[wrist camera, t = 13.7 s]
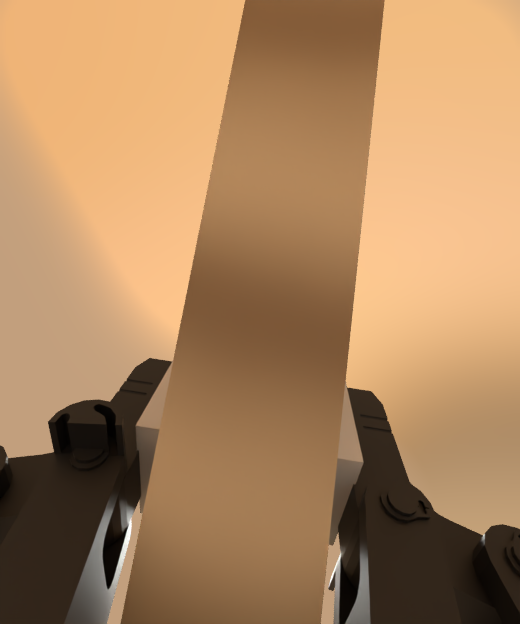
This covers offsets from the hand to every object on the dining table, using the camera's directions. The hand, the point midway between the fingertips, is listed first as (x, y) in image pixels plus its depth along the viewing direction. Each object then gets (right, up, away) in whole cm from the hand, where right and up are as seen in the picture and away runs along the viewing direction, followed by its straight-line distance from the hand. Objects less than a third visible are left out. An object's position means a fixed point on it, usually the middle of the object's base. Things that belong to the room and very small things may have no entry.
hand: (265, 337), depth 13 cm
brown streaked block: (+1, +8, -2) cm, 9 cm away
